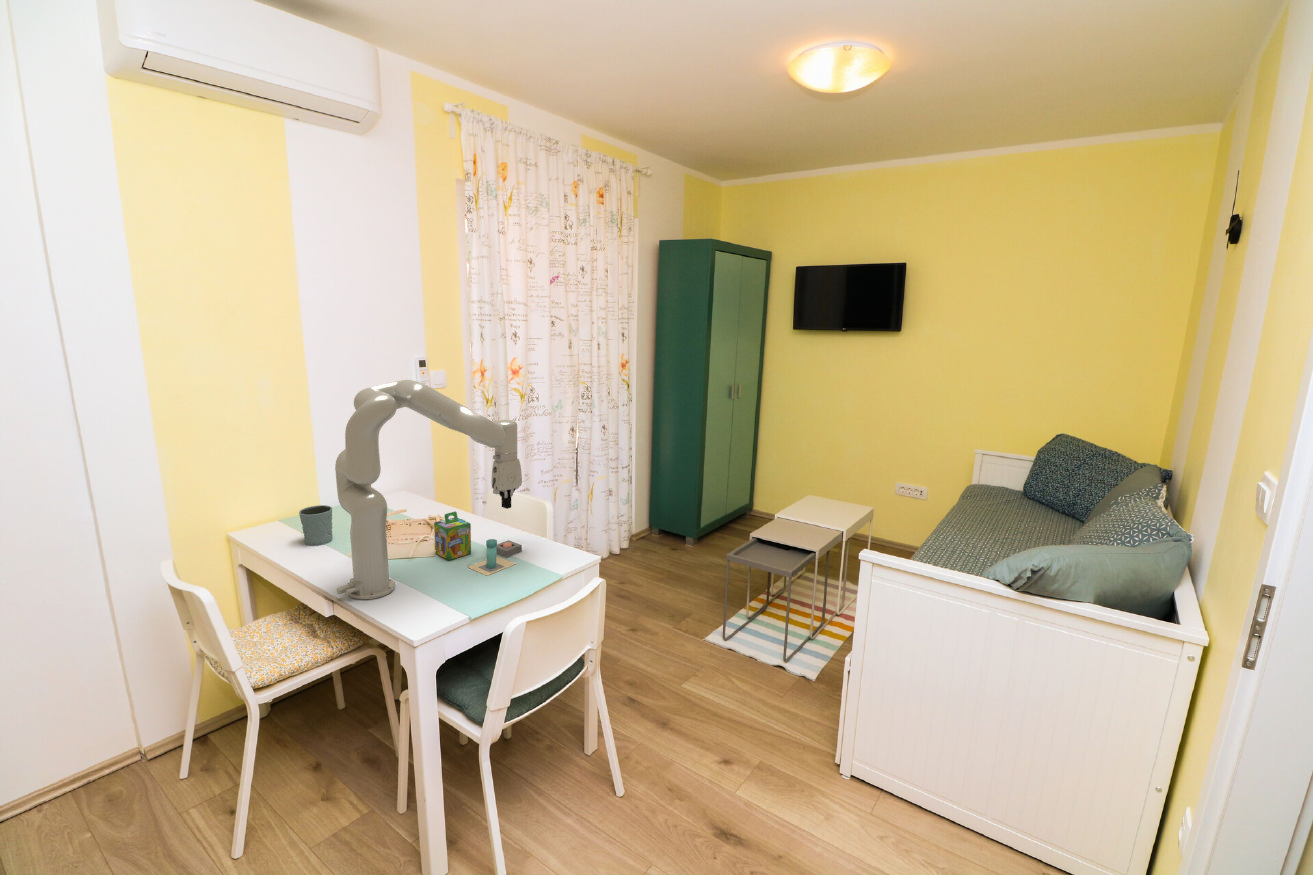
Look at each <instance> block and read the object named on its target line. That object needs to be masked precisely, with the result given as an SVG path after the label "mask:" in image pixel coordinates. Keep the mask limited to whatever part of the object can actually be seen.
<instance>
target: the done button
mask: <svg viewBox="0 0 1313 875" xmlns="http://www.w3.org/2000/svg"><path fill="white" fill-rule="evenodd" d="M503 547H504V548H510V547H512V543H510V542H506V543H503Z"/></svg>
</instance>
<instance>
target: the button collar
mask: <svg viewBox="0 0 1313 875" xmlns="http://www.w3.org/2000/svg"><path fill="white" fill-rule="evenodd" d="M506 542H510V543H512V547H510V548H504V547H503V543H506ZM522 552H523V545H522V544H521V543H517V542H514V541H513V540H509V539H508V540H505V541H503V542H500V543H497V553H496V555H498V556H500V557H502V558H505V559H507V558H509V557H511V556H514V555H517V554H520V553H522Z"/></svg>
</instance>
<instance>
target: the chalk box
mask: <svg viewBox="0 0 1313 875" xmlns="http://www.w3.org/2000/svg"><path fill="white" fill-rule="evenodd" d="M451 516H453V517H451ZM471 526H472V525H471V522H469V521H466V520H465V519H463V518H459V517H458V512H457V511H452V512H446V513H445V514H444V519H442V520H439V521H435V522H434V523H433V530H434V551H435V550H436V555H437V556H439V557H441V558H443V559H444V560H446V561H452V560H455V559H458V558H461V557H464V556H468V555H471V554H472V532H471V530H472V527H471Z"/></svg>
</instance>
